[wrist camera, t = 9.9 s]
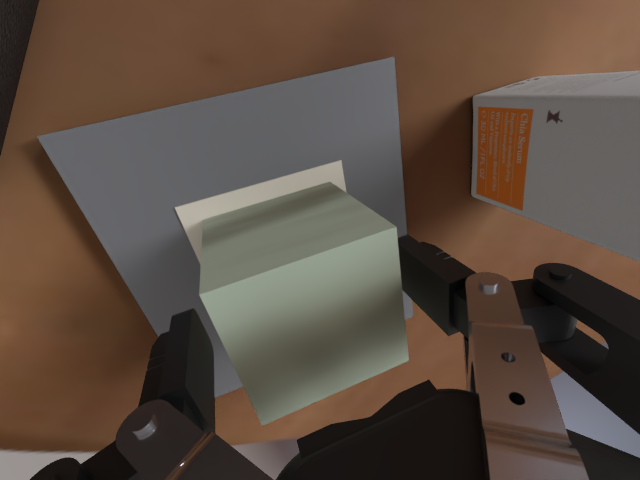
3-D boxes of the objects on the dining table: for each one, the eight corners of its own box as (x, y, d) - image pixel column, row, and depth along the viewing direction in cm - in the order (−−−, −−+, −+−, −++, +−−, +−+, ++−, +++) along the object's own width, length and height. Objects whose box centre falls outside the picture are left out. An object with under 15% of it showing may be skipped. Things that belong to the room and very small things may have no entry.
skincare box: (467, 95, 16) (914, 88, 6) (532, 75, 17) (1027, 39, 7) (467, 200, 19) (770, 318, 9) (522, 179, 20) (861, 266, 10)
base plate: (49, 133, 12) (35, 136, 11) (383, 59, 14) (395, 56, 13) (199, 390, 18) (199, 406, 18) (404, 307, 21) (414, 317, 20)
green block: (203, 219, 13) (199, 294, 8) (329, 181, 15) (396, 226, 9) (245, 321, 16) (262, 425, 11) (349, 282, 17) (408, 360, 12)
